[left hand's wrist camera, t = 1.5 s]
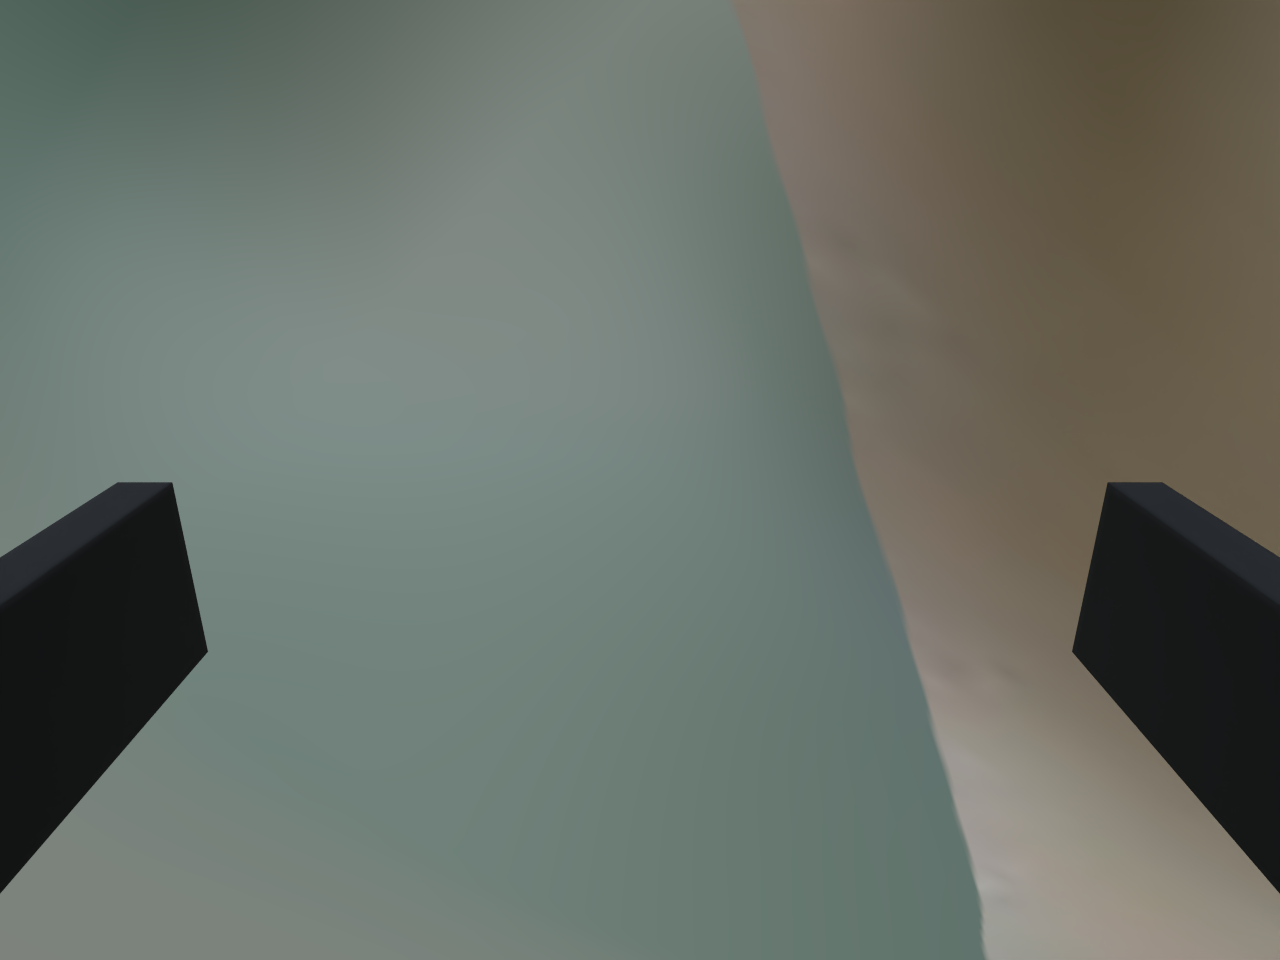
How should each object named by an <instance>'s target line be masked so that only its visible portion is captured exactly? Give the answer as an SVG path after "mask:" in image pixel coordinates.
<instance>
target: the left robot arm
mask: <svg viewBox="0 0 1280 960" xmlns="http://www.w3.org/2000/svg"><path fill="white" fill-rule="evenodd" d="M207 652H208V650H207V645H206V640H205V636H204V631H203V626H202V621H201V617H200V612H199V607H198V603H197V598H196V593H195V588H194V583H193V579H192V574H191V569H190V564H189V560H188V555H187V550H186V545H185V541H184V536H183V531H182V526H181V522H180V517H179V512H178V507H177V503H176V498H175V493H174V488H173V484H172V483H171V482H170V483H169V482H168V483H164V482H163V483H162V482H161V483H159V482H158V483H156V482H153V483H152V482H151V483H146V482H144V483H143V482H140V483H139V482H138V483H136V482H135V483H134V482H128V483H127V482H124V483H123V482H121V483H119V482H118V483H116V484H115V485H113V486H111V487H110V488H108V489H107V490H105V491H104V492H102V493H100V494H99V495H97V496H96V497H94V498H93V499H91V500H90V501H88V502H87V503H85V504H83V505H82V506H80V507H79V508H77V509H75V510H74V511H72V512H71V513H69V514H68V515H66V516H64V517H63V518H61V519H60V520H58V521H57V522H55V523H54V524H52V525H50V526H49V527H47V528H46V529H44V530H43V531H41V532H40V533H38V534H36V535H35V536H33V537H32V538H30V539H29V540H27V541H25V542H24V543H22V544H21V545H19V546H18V547H16V548H14V549H13V550H11V551H10V552H8V553H7V554H5V555H4V556H2V557H0V893H1V892H2V891H3V890H4V888H5V887H6V886H7V885H8V884H9V883H10V881H11V880H12V879H13V878H14V877H15V876H16V874H17V873H18V872H19V871H20V870H21V869H22V867H23V866H24V865H25V864H26V863H27V862H28V860H29V859H30V858H31V857H32V856H33V855H34V854H35V852H36V851H37V850H38V849H39V848H40V847H41V845H42V844H43V843H44V842H45V841H46V839H47V838H48V837H49V836H50V835H51V834H52V832H53V831H54V830H55V829H56V828H57V827H58V826H59V824H60V823H61V822H62V821H63V820H64V819H65V817H66V816H67V815H68V814H69V813H70V812H71V810H72V809H73V808H74V807H75V806H76V805H77V803H78V802H79V801H80V800H81V799H82V798H83V796H84V795H85V794H86V793H87V792H88V791H89V789H90V788H91V787H92V786H93V785H94V784H95V782H96V781H97V780H98V779H99V778H100V777H101V776H102V774H103V773H104V772H105V771H106V770H107V769H108V767H109V766H110V765H111V764H112V763H113V762H114V760H115V759H116V758H117V757H118V756H119V755H120V753H121V752H122V751H123V750H124V749H125V748H126V746H127V745H128V744H129V743H130V742H131V741H132V739H133V738H134V737H135V736H136V735H137V733H138V732H139V731H140V730H141V729H142V728H143V727H144V725H145V724H146V723H147V722H148V721H149V720H150V718H151V717H152V716H153V715H154V714H155V713H156V711H157V710H158V709H159V708H160V707H161V706H162V704H163V703H164V702H165V701H166V700H167V699H168V697H169V696H170V695H171V694H172V693H173V692H174V691H175V689H176V688H177V687H178V686H179V685H180V684H181V682H182V681H183V680H184V679H185V678H186V676H187V675H188V674H189V673H190V672H191V671H192V670H193V668H194V667H195V666H196V665H197V664H198V663H199V661H200V660H201V659H202V658H203V657H204V656H205V654H206V653H207ZM1072 652H1073V653H1074V654H1075V656H1076V657H1077V658H1078V659H1079V660H1080V661H1081V663H1082V664H1083V665H1084V666H1085V667H1086V668H1087V670H1088V671H1089V672H1090V673H1091V674H1092V675H1093V677H1094V678H1095V679H1096V680H1097V681H1098V682H1099V684H1100V685H1101V686H1102V687H1103V688H1104V689H1105V691H1106V692H1107V693H1108V694H1109V695H1110V696H1111V698H1112V699H1113V700H1114V701H1115V702H1116V703H1117V704H1118V706H1119V707H1120V708H1121V709H1122V710H1123V711H1124V713H1125V714H1126V715H1127V716H1128V717H1129V718H1130V720H1131V721H1132V722H1133V723H1134V724H1135V725H1136V727H1137V728H1138V729H1139V730H1140V731H1141V732H1142V734H1143V735H1144V736H1145V737H1146V738H1147V739H1148V741H1149V742H1150V743H1151V744H1152V745H1153V746H1154V748H1155V749H1156V750H1157V751H1158V752H1159V753H1160V755H1161V756H1162V757H1163V758H1164V759H1165V760H1166V762H1167V763H1168V764H1169V765H1170V766H1171V767H1172V769H1173V770H1174V771H1175V772H1176V773H1177V774H1178V776H1179V777H1180V778H1181V779H1182V780H1183V781H1184V782H1185V784H1186V785H1187V786H1188V787H1189V788H1190V789H1191V791H1192V792H1193V793H1194V794H1195V795H1196V796H1197V798H1198V799H1199V800H1200V801H1201V802H1202V803H1203V805H1204V806H1205V807H1206V808H1207V809H1208V810H1209V812H1210V813H1211V814H1212V815H1213V816H1214V817H1215V819H1216V820H1217V821H1218V822H1219V823H1220V824H1221V826H1222V827H1223V828H1224V829H1225V830H1226V831H1227V833H1228V834H1229V835H1230V836H1231V837H1232V838H1233V840H1234V841H1235V842H1236V843H1237V844H1238V845H1239V847H1240V848H1241V849H1242V850H1243V851H1244V852H1245V854H1246V855H1247V856H1248V857H1249V858H1250V859H1251V860H1252V862H1253V863H1254V864H1255V865H1256V866H1257V867H1258V869H1259V870H1260V871H1261V872H1262V873H1263V874H1264V876H1265V877H1266V878H1267V879H1268V880H1269V881H1270V883H1271V884H1272V885H1273V886H1274V887H1275V888H1276V890H1277V891H1278V892H1279V893H1280V557H1278V556H1277V555H1275V554H1273V553H1272V552H1270V551H1269V550H1267V549H1266V548H1264V547H1262V546H1261V545H1259V544H1258V543H1256V542H1255V541H1253V540H1251V539H1250V538H1248V537H1247V536H1245V535H1244V534H1242V533H1241V532H1239V531H1237V530H1236V529H1234V528H1233V527H1231V526H1230V525H1228V524H1226V523H1225V522H1223V521H1222V520H1220V519H1219V518H1217V517H1216V516H1214V515H1212V514H1211V513H1209V512H1208V511H1206V510H1205V509H1203V508H1201V507H1200V506H1198V505H1197V504H1195V503H1194V502H1192V501H1190V500H1189V499H1187V498H1186V497H1184V496H1183V495H1181V494H1180V493H1178V492H1176V491H1175V490H1173V489H1172V488H1170V487H1169V486H1167V485H1165V484H1164V483H1162V482H1108V484H1107V488H1106V493H1105V498H1104V503H1103V507H1102V512H1101V517H1100V522H1099V526H1098V531H1097V536H1096V541H1095V545H1094V550H1093V555H1092V560H1091V564H1090V569H1089V574H1088V579H1087V583H1086V588H1085V593H1084V598H1083V602H1082V607H1081V612H1080V617H1079V621H1078V626H1077V631H1076V636H1075V640H1074V645H1073V650H1072Z"/></svg>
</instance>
